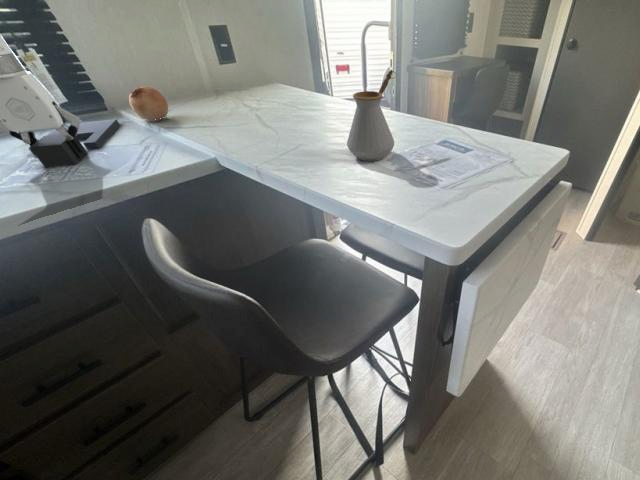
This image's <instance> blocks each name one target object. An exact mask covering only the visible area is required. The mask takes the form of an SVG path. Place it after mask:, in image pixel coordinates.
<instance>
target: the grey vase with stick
mask: <svg viewBox="0 0 640 480" xmlns="http://www.w3.org/2000/svg"><path fill="white" fill-rule="evenodd" d="M393 73H394V74H395V77H392V75H393ZM397 76H398V75H397V72H396V71H394V70H393V69H390V70H389V71H388V72H387V73H386V75H385V78H384V79H383V81H382V83H381V85H380V88H379V91H375V90H362V91H358V92H355V93H353V94H352V98H353V99H354V101H355V103H356V108H355V111H354V116H353V118H352V122H351V127H350V130H349V134H348V137H347V141H346V146H347V148H348V150H349V152H350V153H351V154H352V155H354V156H355V157H356V159H358V160H361V161H364V162H377V161H380V160H383V159H385V158H387V156H388V155H389V154H390V153H391V152H392V151H393V149H394V147H395V139H394V136H393V135H392V132H391V130H390V126H389V125H388V122H387V119H386V117H385V115H384V112H383V110H382V108H381V105H380V104H381V101H382V99H383V98H384V97H383V94H384V92H385V90H386V89H387V87H388V85H389V82H390V80H391V79H392V80H394V79H396V78H397Z"/></svg>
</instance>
